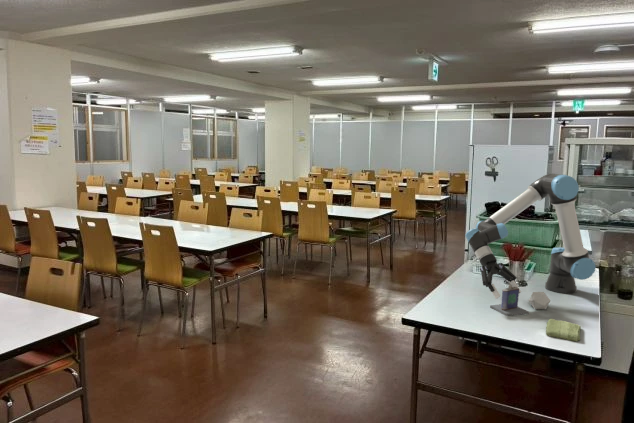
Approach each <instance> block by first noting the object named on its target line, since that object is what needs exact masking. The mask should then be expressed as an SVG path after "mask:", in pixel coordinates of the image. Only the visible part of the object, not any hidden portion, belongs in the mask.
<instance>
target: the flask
mask: <svg viewBox="0 0 634 423" xmlns="http://www.w3.org/2000/svg"><path fill="white" fill-rule="evenodd" d="M507 286H508V287H507V288H504V289H502V295H501V303H500V304H501V310H511V309H514V308H518V307H519V306H518V304H519V295H520V293H519V289H520V287H518V288H517V287H512V285H511V284H508V285H507Z"/></svg>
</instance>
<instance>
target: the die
mask: <svg viewBox="0 0 634 423" xmlns="http://www.w3.org/2000/svg"><path fill="white" fill-rule="evenodd" d="M528 302H529V304H530V305H531V306H532V308H533V309H534V310H547V308H548V306H549V304H550V303H551V299H550V298H549V296H547V294H546V292H544V291H533V292H532V294H531V295H530V297H529V298H528Z"/></svg>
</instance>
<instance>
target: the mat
mask: <svg viewBox="0 0 634 423" xmlns="http://www.w3.org/2000/svg"><path fill="white" fill-rule="evenodd" d="M489 307H490V309H492V310H494V311H496V312H498V313H500V314H502V315H504V316H506V317H510V316H512V317H513V316H518V315H519V316H520V315H529V314H530V311H528V310H526V309H524V308H522V307H520V306H518V308H514V309H511V310H501V303H500V304H491V305H489Z"/></svg>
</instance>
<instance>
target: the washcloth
mask: <svg viewBox="0 0 634 423" xmlns="http://www.w3.org/2000/svg"><path fill="white" fill-rule="evenodd" d="M581 329H582V327H581V325H579V324H577V323H573V322H570V321H565V320H556V319H554V318H550V319H548V320H547V322H546V326H545V335H546V336H547V337H551V338H556V339H557V338H558V339H562V340H563V339H564V340H568V341H572V342H579V341H581V336H580V332H581Z"/></svg>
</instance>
